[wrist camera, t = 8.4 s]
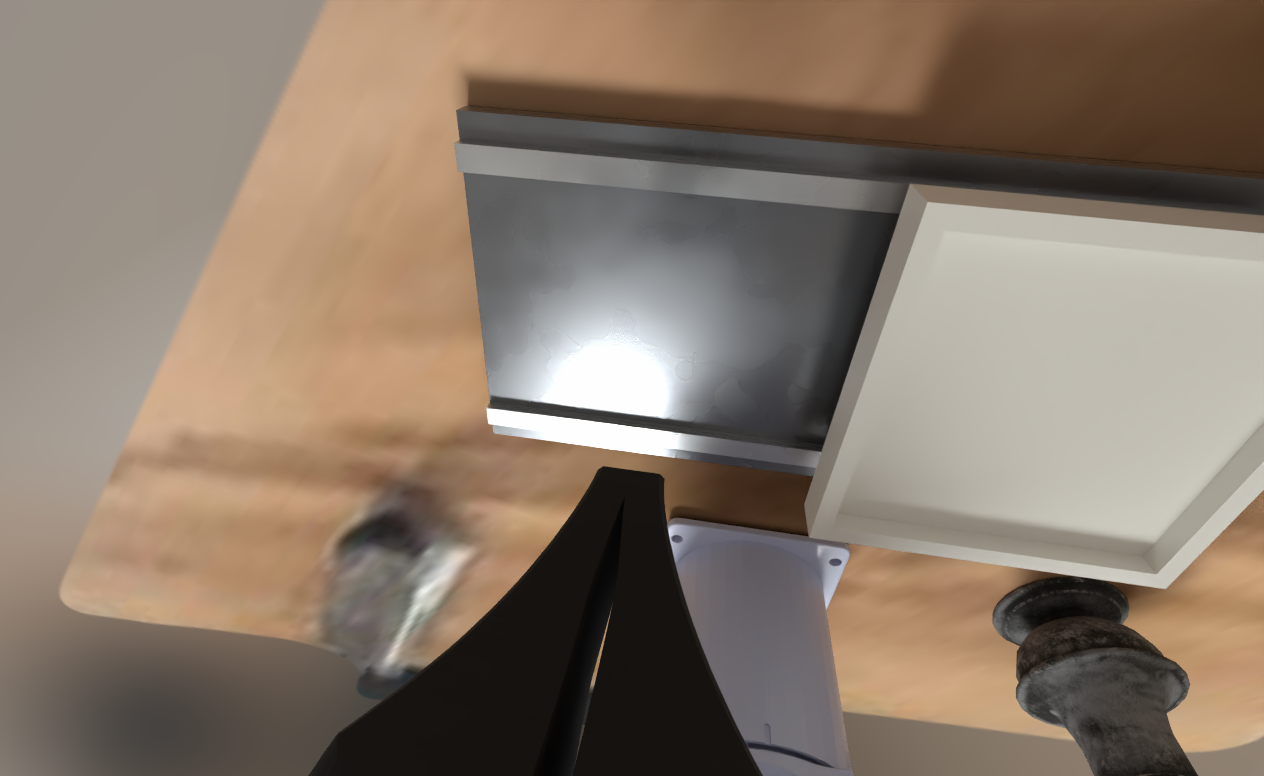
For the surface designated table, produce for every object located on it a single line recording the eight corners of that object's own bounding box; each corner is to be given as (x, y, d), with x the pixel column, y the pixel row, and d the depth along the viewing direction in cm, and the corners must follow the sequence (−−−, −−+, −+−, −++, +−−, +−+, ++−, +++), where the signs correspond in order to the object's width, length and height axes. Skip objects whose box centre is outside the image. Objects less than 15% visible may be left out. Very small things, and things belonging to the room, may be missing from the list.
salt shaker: (1165, 584, 24) (1473, 997, 14) (1091, 659, 27) (1296, 1034, 17) (1019, 562, 24) (1217, 948, 14) (964, 639, 28) (1094, 993, 18)
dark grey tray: (1120, 503, 22) (1158, 554, 20) (499, 421, 24) (479, 459, 22) (1374, 182, 15) (1474, 211, 13) (466, 105, 17) (432, 120, 15)
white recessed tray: (1116, 522, 20) (1165, 589, 18) (800, 479, 21) (809, 537, 19) (1368, 211, 14) (1495, 255, 12) (896, 170, 15) (927, 201, 12)
